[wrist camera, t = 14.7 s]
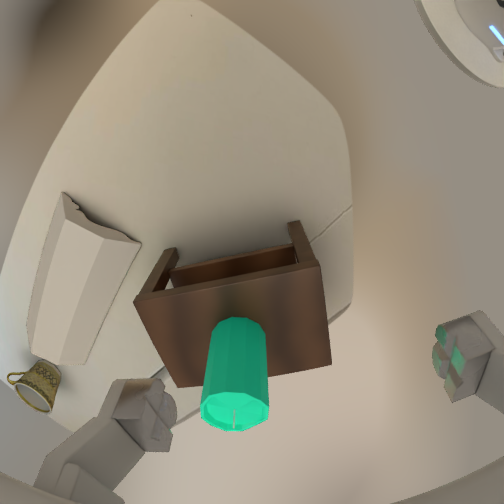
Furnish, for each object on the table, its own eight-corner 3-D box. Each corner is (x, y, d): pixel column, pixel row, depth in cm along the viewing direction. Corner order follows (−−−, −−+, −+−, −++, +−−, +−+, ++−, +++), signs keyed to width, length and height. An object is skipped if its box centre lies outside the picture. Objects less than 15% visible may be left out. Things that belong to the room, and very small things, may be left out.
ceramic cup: (68, 367, 56) (50, 399, 47) (66, 390, 60) (51, 420, 51) (22, 340, 54) (1, 368, 45) (23, 365, 58) (5, 392, 49)
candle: (219, 360, 35) (210, 446, 24) (204, 321, 33) (186, 410, 22) (270, 353, 35) (275, 441, 24) (259, 312, 32) (262, 403, 21)
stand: (300, 219, 43) (320, 265, 30) (314, 302, 48) (332, 364, 36) (163, 249, 45) (132, 302, 32) (192, 325, 50) (177, 388, 38)
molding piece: (73, 326, 60) (84, 364, 55) (26, 324, 51) (33, 365, 46) (124, 206, 49) (141, 244, 44) (61, 191, 40) (67, 232, 35)
